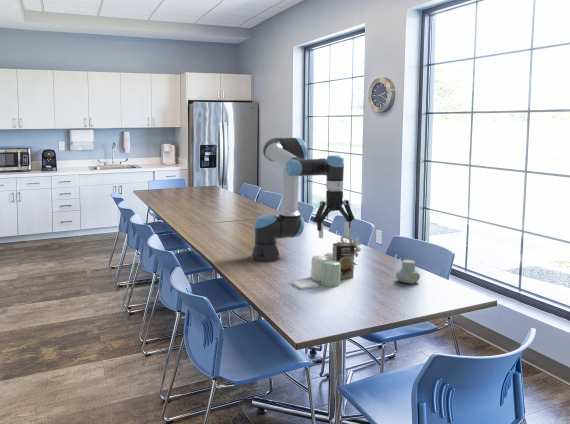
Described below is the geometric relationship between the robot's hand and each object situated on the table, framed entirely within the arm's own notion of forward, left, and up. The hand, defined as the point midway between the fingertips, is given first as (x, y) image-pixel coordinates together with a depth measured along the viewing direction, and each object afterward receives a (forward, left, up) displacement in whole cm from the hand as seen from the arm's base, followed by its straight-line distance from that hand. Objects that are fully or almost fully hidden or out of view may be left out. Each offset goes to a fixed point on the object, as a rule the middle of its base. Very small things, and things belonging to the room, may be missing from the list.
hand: (333, 236), depth 237 cm
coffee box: (-7, +10, -22) cm, 25 cm away
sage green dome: (+1, -1, -22) cm, 22 cm away
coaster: (-2, -13, -22) cm, 26 cm away
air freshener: (+12, +34, -22) cm, 42 cm away
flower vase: (-22, +19, -22) cm, 36 cm away
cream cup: (-9, -1, -22) cm, 24 cm away
